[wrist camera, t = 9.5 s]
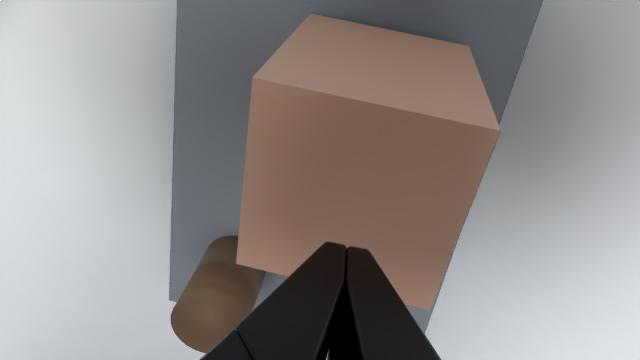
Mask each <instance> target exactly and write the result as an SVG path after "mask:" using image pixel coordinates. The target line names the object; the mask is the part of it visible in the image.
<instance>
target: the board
mask: <svg viewBox="0 0 640 360" xmlns="http://www.w3.org/2000/svg"><path fill="white" fill-rule="evenodd" d="M542 2H543V0H177V27H176V64H175V101H174V138H173V175H172V213H171V250H170V287H169V300H170V301H175V302H178V300H179V298H180V296H181V295H182V293H183V291H184V289H185V287H186V286H187V284H188V282H189V280H190V279H191V277H192V275H193V273H194V271H195V270H196V268H197V266H198V264H199V263H200V261H201V259H202V257H203V255H204V254H205V252H206V250H207V248H208V247H209V245H210V244H211V243H212V242H213V241H215V240H216V239H218V238H220V237H224V236H239V224H240V213H241V201H242V190H243V179H244V167H245V156H246V145H247V133H248V122H249V110H250V99H251V88H252V77H253V76H254V75H255V74H256V73H257V72H258V71H259V70H260V68H261V67H262V66H263V65H264V64H265V63H266V62H267V61H268V60H269V59H270V57H271V56H272V55H273V54H274V53H275V52H276V51H277V50H278V49H279V48H280V46H281V45H282V44H283V43H284V42H285V41H286V40H287V39H288V38H289V37H290V35H291V34H292V33H293V32H294V31H295V30H296V29H297V28H298V27H299V25H300V24H301V23H302V22H303V21H304V20H305V19H306V18H307V17H308V16H309V14H315V15H320V16H325V17H330V18H335V19H340V20H345V21H350V22H354V23H359V24H364V25H369V26H374V27H379V28H384V29H389V30H393V31H398V32H403V33H408V34H413V35H418V36H423V37H428V38H433V39H437V40H442V41H447V42H452V43H457V44H462V45H467V46H469V48H470V50H471V53H472V56H473V58H474V61H475V64H476V66H477V69H478V72H479V74H480V77H481V80H482V82H483V85H484V88H485V90H486V93H487V95H488V98H489V101H490V103H491V106H492V109H493V111H494V114H495V117H496V119H497V122H498V125H499V123H500V120H501V117H502V114H503V112H504V109H505V106H506V103H507V100H508V97H509V95H510V92H511V89H512V86H513V83H514V81H515V78H516V75H517V72H518V69H519V67H520V64H521V61H522V58H523V55H524V52H525V50H526V47H527V44H528V41H529V38H530V36H531V33H532V30H533V27H534V24H535V22H536V19H537V16H538V13H539V10H540V7H541V5H542ZM457 241H458V240H457ZM456 244H457V243H456ZM455 247H456V245H455ZM454 249H455V248H454ZM453 252H454V250H453ZM452 255H453V253H452ZM452 255H451V258H452ZM451 258H450V260H449V263H450V261H451ZM449 263H448V265H447V268H446V270H445V273H444V275H443V278H442V280H441V283H440V286H439V288H438V291H437V293H436V296H435V298H434V301H433V303H432V306H431V308H430V310H426V309H422V308H418V307H414V306H410V305H406V304H405V305H406V307H407V308H408V310H409V311H410V313H411V314H412V316H413V317H414V319H415V320H416V322H417V323H418V325H419V327H420V328H421V330H422V331H423V333H424V334H425V331H426V328H427V325H428V322H429V320H430V317H431V314H432V311H433V308H434V306H435V303H436V300H437V297H438V294H439V292H440V289H441V286H442V283H443V280H444V277H445V275H446V272H447V269H448V266H449ZM288 277H289V276H285V275H281V274H276V273H272V272H268V271H266V273H265V276H264V279H263V282H262V285H261V288H260V291H259V294H258V297H257V300H256V303H255V305H254V308H253V310H254V309H255V308H256V307H257V306H258V305H259V304H260V303H261V302H262V301H263V300H264V299H266V298H267V297H268V296H269V295H270V294H271V293H272V292H273V291H274V290H275V289H276V288H277V287H278V286H279V285H280V284H281V283H282V282H283V281H284V280H286V279H287V278H288Z"/></svg>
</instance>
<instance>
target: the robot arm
mask: <svg viewBox="0 0 640 360" xmlns="http://www.w3.org/2000/svg"><path fill="white" fill-rule="evenodd" d="M327 354H328V357H327ZM326 358H327V360H441V358H440V357H439V355H438V354H437V352H436V351H435V349H434V348H433V346H432V345H431V343H430V342H429V340H428V339H427V337H426V336H425V334H424V333H423V331H422V330H421V328H420V327H419V325H418V323H417V322H416V320H415V319H414V317H413V316H412V314H411V313H410V311H409V310H408V308H407V307H406V305H405V304H404V302H403V301H402V299H401V298H400V296H399V295H398V293H397V292H396V290H395V289H394V287H393V286H392V284H391V283H390V281H389V279H388V278H387V276H386V275H385V273H384V272H383V270H382V269H381V267H380V266H379V264H378V263H377V261H376V260H375V258H374V257H373V255H372V254H371V252H370V251H369V250H368V249H364V248H359V247H354V246H349V247H348V248H346V246H345V245H344V244H339V243H334V242H329V241H327V242H325V243H323V244H322V245H321V246H320V247H319V248H318V249H317V250H316V251H315V252H314V253H313V254H312V255H311V256H310V257H309V258H308V259H307V260H305V261H304V262H303V263H302V264H301V265H300V266H299V267H298V268H297V269H296V270H295V271H294V272H293V273H292V274H291V275H290V276H289V277H288V278H287V279H286V280H284V281H283V282H282V283H281V284H280V285H279V286H278V287H277V288H276V289H275V290H274V291H273V292H272V293H271V294H270V295H269V296H268V297H267V298H266V299H264V300H263V301H262V302H261V303H260V304H259V305H258V306H257V307H256V308H255V309H254V310H253V311H252V312H251V313H250V314H249V315H248V316H247V317H246V318H245V319H243V320H242V321H241V322H240V323H239V324H238V325H237V326H236V327H235V329H234V330H232V331H231V332H229V333H228V334H227V335H226V336H225V337H224V338H223V339H222V340H221V341H220V342H219V343H218V344H217V345H216V346H215V347H213V348H212V349H211V350H210V351H209V352H208V353H207V354H205V355H204V356H203V357H202V358H201V359H200V360H326Z"/></svg>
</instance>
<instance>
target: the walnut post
mask: <svg viewBox="0 0 640 360" xmlns="http://www.w3.org/2000/svg"><path fill="white" fill-rule="evenodd" d="M237 247H238V236H224V237H220V238H218V239H216V240H215V241H213V242H212V243H211V244H210V245H209V247H208V248H207V250H206V252H205V254H204V255H203V257H202V259H201V261H200V263H199V264H198V266H197V268H196V270H195V271H194V273H193V275H192V277H191V279H190V280H189V282H188V284H187V286H186V287H185V289H184V291H183V293H182V295H181V296H180V298H179V300H178V302H177V303H176V305H175V307H174V309H173V311H172V314H171V325H172V328H173V330H174V332H175V334H176V335H177V337H178V338H179V339H180V340H181V341H182V342H183V343H185V344H186V345H187V346H189V347H191V348H193V349H195V350H197V351H200V352H203V353H208V352H209V351H210V350H211V349H212V348H213V347H215V346H216V345H217V344H218V343H219V342H220V341H221V340H222V339H223V338H224V337H225V336H226V335H227V334H228V333H229V332H231V331H232V330H234V329H235V327H236V326H237V325H238V324H239V323H240V322H241V321H242V320H243V319H245V318H246V317H247V316H248V315H249V314H250V313H251V312H252V311H253V308H254V305H255V303H256V300H257V297H258V294H259V291H260V288H261V285H262V282H263V279H264V276H265V273H266V271H264V270H260V269H256V268H251V267H247V266H243V265H239V264H236V258H237Z"/></svg>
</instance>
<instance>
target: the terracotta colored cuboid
mask: <svg viewBox="0 0 640 360" xmlns="http://www.w3.org/2000/svg"><path fill="white" fill-rule="evenodd" d="M500 132H501V130H500V127H499V125H498V122H497V119H496V117H495V114H494V111H493V109H492V106H491V103H490V101H489V98H488V95H487V93H486V90H485V88H484V85H483V82H482V80H481V77H480V74H479V72H478V69H477V66H476V64H475V61H474V58H473V56H472V53H471V50H470V48H469V46H467V45H462V44H457V43H452V42H447V41H442V40H437V39H433V38H428V37H423V36H418V35H413V34H408V33H403V32H398V31H393V30H389V29H384V28H379V27H374V26H369V25H364V24H359V23H354V22H350V21H345V20H340V19H335V18H330V17H325V16H320V15H315V14H309V16H308V17H307V18H306V19H305V20H304V21H303V22H302V23H301V24H300V25H299V27H298V28H297V29H296V30H295V31H294V32H293V33H292V34H291V35H290V37H289V38H288V39H287V40H286V41H285V42H284V43H283V44H282V45H281V46H280V48H279V49H278V50H277V51H276V52H275V53H274V54H273V55H272V56H271V57H270V59H269V60H268V61H267V62H266V63H265V64H264V65H263V66H262V67H261V68H260V70H259V71H258V72H257V73H256V74H255V75H254V76H253V77H252V88H251V99H250V110H249V122H248V133H247V145H246V156H245V167H244V179H243V190H242V201H241V213H240V224H239V236H238V247H237V258H236V264H239V265H243V266H247V267H251V268H256V269H260V270H264V271H268V272H272V273H276V274H281V275H285V276H290V275H291V274H292V273H293V272H294V271H295V270H296V269H297V268H298V267H299V266H300V265H301V264H302V263H303V262H304V261H305V260H307V259H308V258H309V257H310V256H311V255H312V254H313V253H314V252H315V251H316V250H317V249H318V248H319V247H320V246H321V245H322V244H323V243H325V242H327V241H329V242H334V243H339V244H344V245H345V246H346V248H348V247H349V246H354V247H359V248H364V249H368V250H369V251H370V252H371V254H372V255H373V257H374V258H375V260H376V261H377V263H378V264H379V266H380V267H381V269H382V270H383V272H384V273H385V275H386V276H387V278H388V279H389V281H390V283H391V284H392V286H393V287H394V289H395V290H396V292H397V293H398V295H399V296H400V298H401V299H402V301H403V302H404V304H406V305H410V306H414V307H418V308H422V309H426V310H430V308H431V306H432V303H433V301H434V298H435V296H436V293H437V291H438V288H439V286H440V283H441V280H442V278H443V275H444V273H445V270H446V268H447V265H448V263H449V260H450V258H451V255H452V253H453V250H454V248H455V245H456V243H457V240H458V238H459V235H460V233H461V230H462V228H463V225H464V222H465V220H466V217H467V215H468V212H469V210H470V207H471V205H472V202H473V200H474V197H475V195H476V192H477V190H478V187H479V185H480V182H481V180H482V177H483V175H484V172H485V170H486V167H487V165H488V162H489V159H490V157H491V154H492V152H493V149H494V147H495V144H496V142H497V139H498V137H499V134H500Z"/></svg>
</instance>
